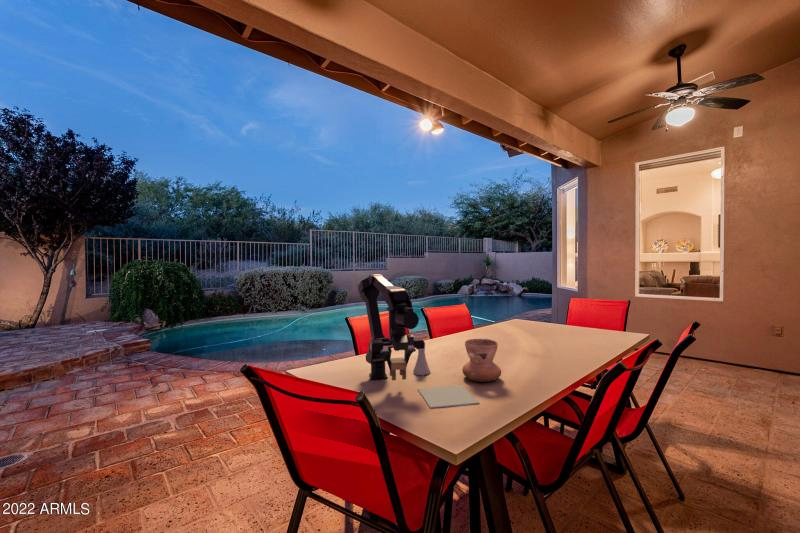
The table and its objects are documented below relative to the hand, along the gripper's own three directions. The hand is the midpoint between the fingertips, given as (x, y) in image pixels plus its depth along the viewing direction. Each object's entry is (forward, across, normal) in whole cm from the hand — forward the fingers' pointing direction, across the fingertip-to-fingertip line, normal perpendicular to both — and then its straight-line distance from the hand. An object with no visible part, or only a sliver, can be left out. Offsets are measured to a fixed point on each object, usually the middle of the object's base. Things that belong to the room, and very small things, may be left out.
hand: (397, 369), depth 118 cm
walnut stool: (+3, 0, 0) cm, 3 cm away
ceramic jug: (+8, +34, +5) cm, 35 cm away
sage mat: (+8, +15, -9) cm, 19 cm away
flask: (+8, +13, +17) cm, 23 cm away
